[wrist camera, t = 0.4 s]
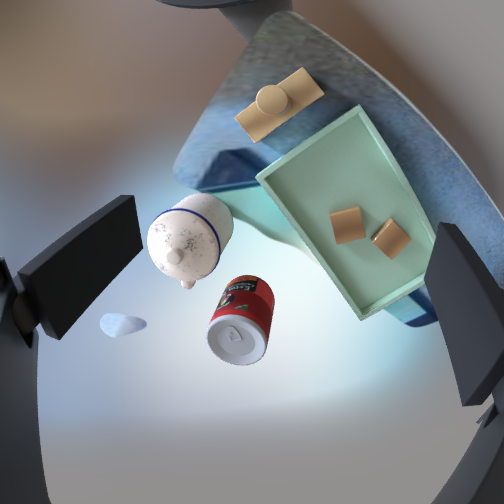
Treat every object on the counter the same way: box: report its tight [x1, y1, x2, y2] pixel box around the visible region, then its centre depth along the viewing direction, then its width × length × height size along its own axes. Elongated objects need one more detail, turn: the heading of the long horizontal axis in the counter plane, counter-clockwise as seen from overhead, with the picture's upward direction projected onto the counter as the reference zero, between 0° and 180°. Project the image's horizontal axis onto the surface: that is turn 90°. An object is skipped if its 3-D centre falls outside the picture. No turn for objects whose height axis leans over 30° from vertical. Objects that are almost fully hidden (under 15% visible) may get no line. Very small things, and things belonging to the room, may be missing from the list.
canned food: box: [206, 275, 275, 365], centre depth 42 cm, size 8×8×11 cm
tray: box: [255, 105, 436, 321], centre depth 38 cm, size 26×16×2 cm, turn 38°
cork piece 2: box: [370, 217, 412, 260], centre depth 38 cm, size 4×4×2 cm
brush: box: [235, 67, 325, 143], centre depth 30 cm, size 4×10×12 cm, turn 128°
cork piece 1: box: [329, 206, 366, 244], centre depth 38 cm, size 4×4×2 cm
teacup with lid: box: [147, 193, 233, 289], centre depth 38 cm, size 12×9×12 cm
